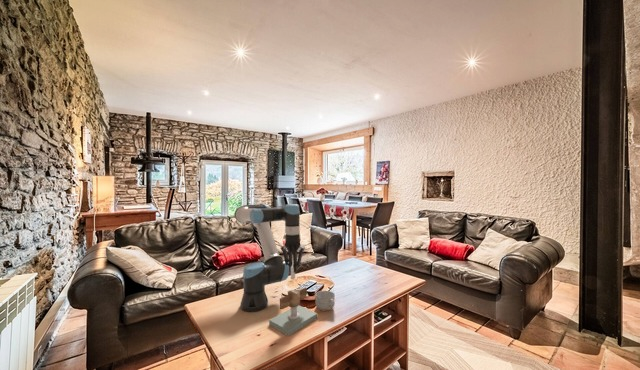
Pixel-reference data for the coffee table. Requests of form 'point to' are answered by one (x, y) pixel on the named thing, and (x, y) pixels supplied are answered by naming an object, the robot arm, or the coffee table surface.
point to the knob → (293, 298)
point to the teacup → (324, 300)
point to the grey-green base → (293, 319)
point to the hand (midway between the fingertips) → (293, 278)
